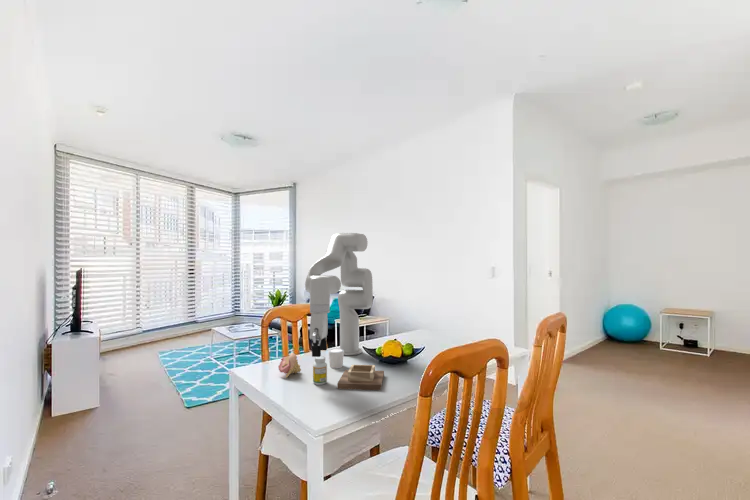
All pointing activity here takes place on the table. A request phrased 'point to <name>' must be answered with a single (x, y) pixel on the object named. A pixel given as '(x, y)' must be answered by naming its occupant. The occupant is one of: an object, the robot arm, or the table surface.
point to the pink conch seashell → (289, 365)
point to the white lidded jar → (336, 358)
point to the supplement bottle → (320, 371)
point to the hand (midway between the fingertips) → (319, 353)
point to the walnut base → (361, 378)
